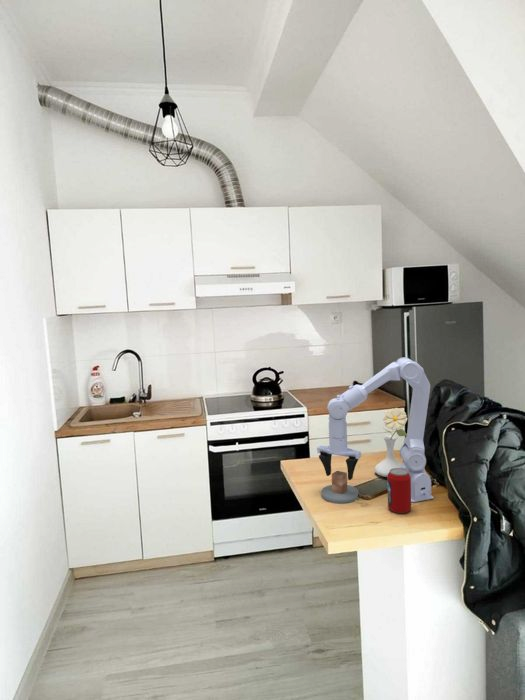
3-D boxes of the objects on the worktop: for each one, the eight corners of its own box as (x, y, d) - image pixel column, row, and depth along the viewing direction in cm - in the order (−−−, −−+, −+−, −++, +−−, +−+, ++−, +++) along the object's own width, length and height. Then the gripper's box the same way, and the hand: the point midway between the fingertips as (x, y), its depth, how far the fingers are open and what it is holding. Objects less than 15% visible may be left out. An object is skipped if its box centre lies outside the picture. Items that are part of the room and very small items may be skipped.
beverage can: (393, 503, 148) (392, 465, 147) (414, 508, 144) (414, 469, 143) (384, 511, 143) (383, 472, 142) (405, 516, 139) (405, 476, 137)
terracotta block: (347, 490, 156) (346, 472, 155) (341, 494, 153) (341, 476, 152) (337, 488, 158) (337, 470, 157) (332, 491, 155) (331, 474, 154)
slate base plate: (365, 499, 151) (365, 495, 151) (330, 506, 148) (330, 501, 148) (348, 486, 163) (348, 482, 163) (315, 491, 159) (315, 487, 159)
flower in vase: (367, 474, 172) (366, 407, 170) (387, 466, 179) (386, 401, 177) (398, 484, 162) (396, 412, 160) (417, 476, 169) (417, 406, 167)
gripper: (364, 435, 153) (365, 476, 154) (323, 430, 161) (324, 469, 162) (355, 441, 147) (356, 483, 148) (313, 435, 155) (315, 476, 156)
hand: (339, 476), depth 155 cm, fingers open, 7 cm apart
